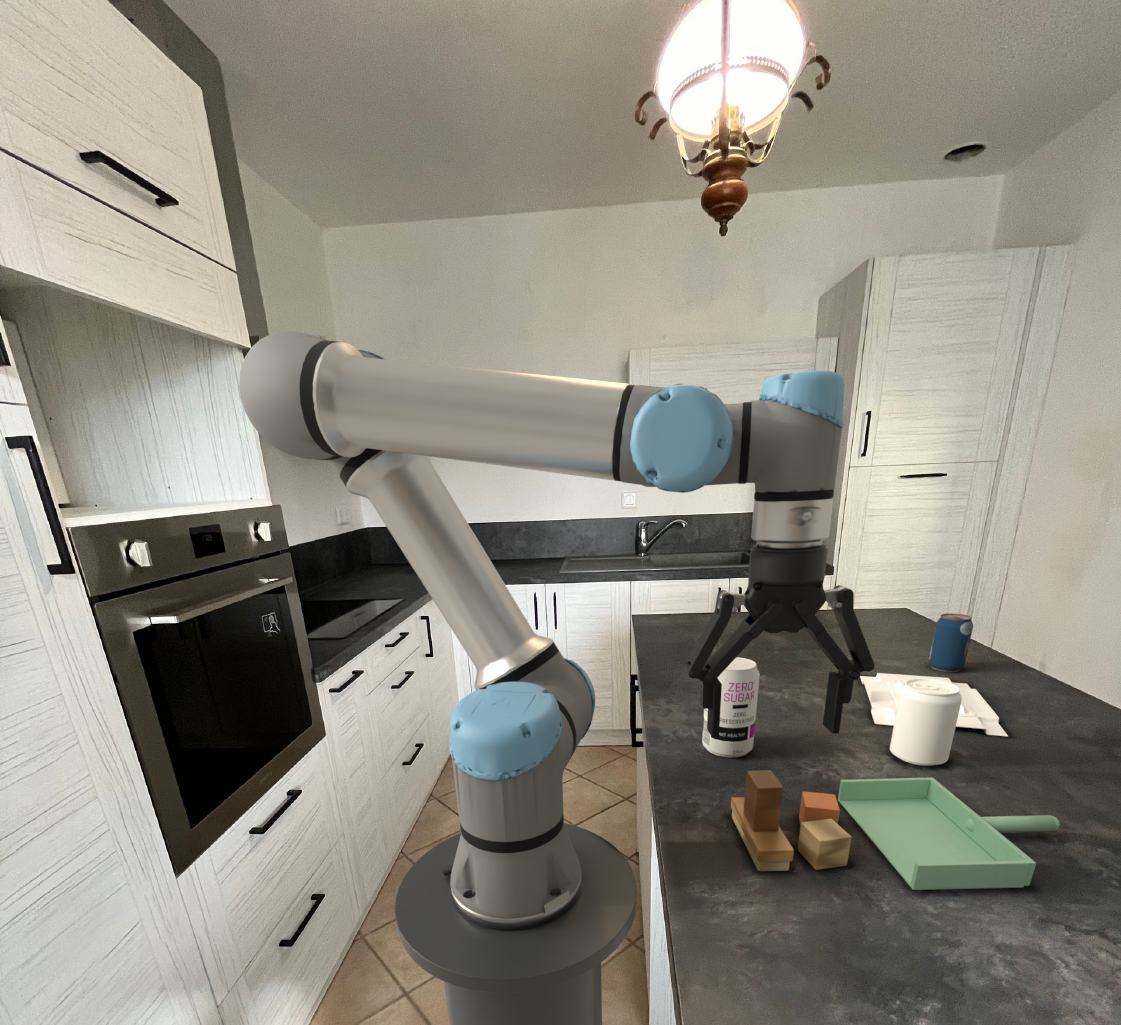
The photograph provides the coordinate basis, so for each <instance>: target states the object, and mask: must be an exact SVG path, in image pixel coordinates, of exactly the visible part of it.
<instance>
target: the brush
mask: <svg viewBox="0 0 1121 1025" xmlns="http://www.w3.org/2000/svg"><path fill="white" fill-rule="evenodd" d="M783 794H784V787H783V785H782V784H781V782H780V780H779V779H778V778H777V776H776V775H775V774H774V772H773V771H772V770H771V769H769V770H768V769H766V770H765V769H764V770H763V769H762V770H761V769H760V770H746V777H745V790H744V796H739V797H737V796H735V797H733V796H732V797H731V798H730V808H731V811H732V812H731V819H732V820H733V823H734V824H735V827H736V829H737V831H738V833H739V835H740V837H741V839H742V841H743V843H744V845H745V848H746V849H747V852H748V853H749V855H750V857H751V860H752V862H753V864H754V866H755V868H756V870H757V872H783V871H784V872H785V871H790V864H791V863H790V862H793V861H794V853H795V850H794V848H793V846H792V845H791V843H790V842H789V840H788V838H787V836H786V834H785V833H784V832H783V830H782V828H781V826H780V819H781V812H782V802H783Z"/></svg>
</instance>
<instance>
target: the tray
mask: <svg viewBox="0 0 1121 1025" xmlns="http://www.w3.org/2000/svg"><path fill="white" fill-rule="evenodd" d="M859 678H860V681H861V682H860V683H861V684H862V685H864V688H865V691H866V693H867V697H868V700H869V703H870V706H871V709H870V713H871V716H872V719H873V722H874V724H875V725H884V726H893V727H894V722H895V716H896V711H897V706H898V700H899V695H900V690H901V688H902V687H903V686H905V683H906V681H908V680H911V679H935V680H940V681H945V682H948V683H951V684H954V685H956V686H957V687H959V689H960V692H959V693H960V695H961V697H962V701H961V706H960V710H959V714H958V719H957V723H956V727H957V728H958V727H959V728H968V729H969V728H971V729H981V730H983V731H984V733H985V734H986V735H988V736H998V737H999V736H1001V737H1009V735H1008V734H1007V732H1006V731H1005V730H1004V729H1003V727H1002V726H1001V725H1000V724H999V722H1000V717H999V716H998V714H997V713H996V712H995V711H994V709H993V708H992V707H991V706H990V705H989V704H988V703H987V701H986V699H984V697H983V696H982V695H981V694H980V692H979V691H978V690H977V689H976V688H971V687H970V685H969V684H968V683H965V682H953V681H951V679H950V678H949V677H942V676H941V677H939V676H926V675H915V674H914V675H912V674H911V675H910V674H900V673H899V674H896V673H884V672H877V673H876V676H865V675H860V677H859Z"/></svg>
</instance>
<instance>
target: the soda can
mask: <svg viewBox="0 0 1121 1025" xmlns="http://www.w3.org/2000/svg"><path fill="white" fill-rule="evenodd" d="M972 618H973V617H972V616H971V615H968V614H962V613H942V614H940V617H939V618H938V619H937V621H935V622H936V623H935V627H934V632H933V636H932V642H931V647H930V651H929V655H928V656H929V657H928V664H929V666H930V668H931V669H932V670H935V671H939V672H944V673H957V672H960V671H961V670H962V669H963V668H964V667H965V665H966V662H967V657H968V652H969V649H970V648H969V647H970V644H971V639H972V633H973V629H974V623H973V621H972Z"/></svg>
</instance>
